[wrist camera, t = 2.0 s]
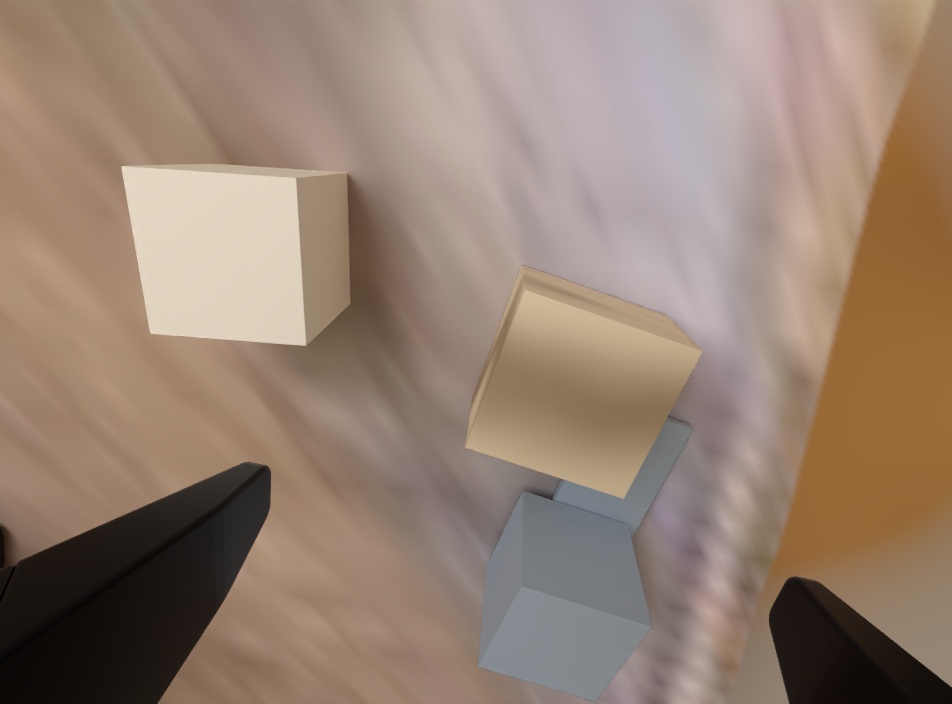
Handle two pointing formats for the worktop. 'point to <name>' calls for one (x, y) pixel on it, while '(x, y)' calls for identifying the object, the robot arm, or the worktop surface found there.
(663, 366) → the birch block
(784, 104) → the worktop surface
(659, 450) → the tile
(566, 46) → the worktop surface
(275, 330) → the cream cube
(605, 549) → the blue cube
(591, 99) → the worktop surface
